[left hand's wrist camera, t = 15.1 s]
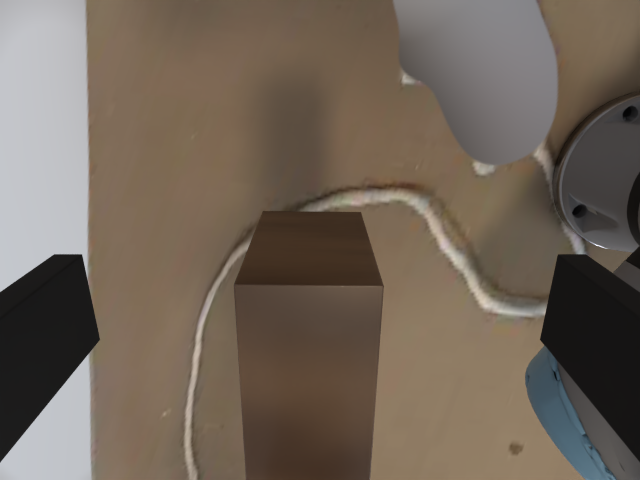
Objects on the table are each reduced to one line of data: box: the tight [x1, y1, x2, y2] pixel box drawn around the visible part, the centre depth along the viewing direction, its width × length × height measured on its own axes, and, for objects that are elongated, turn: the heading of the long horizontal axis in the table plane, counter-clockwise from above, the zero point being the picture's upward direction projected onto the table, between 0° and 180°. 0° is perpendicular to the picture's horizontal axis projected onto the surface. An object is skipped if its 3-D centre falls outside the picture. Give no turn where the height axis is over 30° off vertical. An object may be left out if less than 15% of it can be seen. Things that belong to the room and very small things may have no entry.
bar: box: [234, 211, 384, 480], centre depth 26 cm, size 27×6×10 cm, turn 179°
